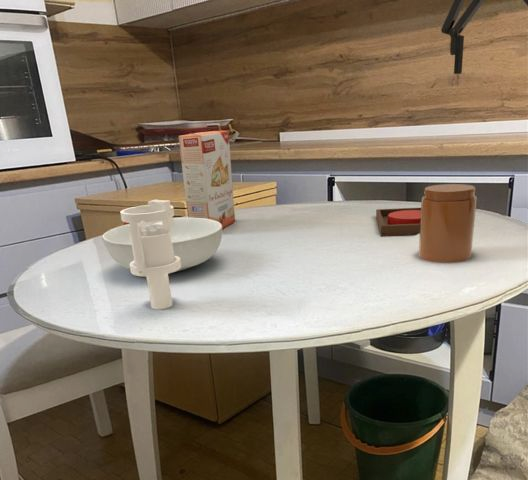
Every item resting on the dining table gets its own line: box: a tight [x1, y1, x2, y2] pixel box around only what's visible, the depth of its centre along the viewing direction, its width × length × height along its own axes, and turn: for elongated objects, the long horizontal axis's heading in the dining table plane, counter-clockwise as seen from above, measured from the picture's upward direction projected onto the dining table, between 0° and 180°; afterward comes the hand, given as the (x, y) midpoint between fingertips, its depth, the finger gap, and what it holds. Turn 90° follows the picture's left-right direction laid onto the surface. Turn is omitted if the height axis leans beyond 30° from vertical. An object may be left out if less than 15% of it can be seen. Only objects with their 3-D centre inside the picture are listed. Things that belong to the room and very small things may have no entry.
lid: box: [388, 210, 421, 225], centre depth 113 cm, size 10×10×2 cm
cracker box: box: [178, 130, 236, 229], centre depth 121 cm, size 14×6×21 cm, turn 160°
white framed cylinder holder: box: [119, 199, 181, 310], centre depth 74 cm, size 7×7×15 cm
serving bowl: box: [102, 216, 223, 273], centre depth 95 cm, size 21×21×7 cm
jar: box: [418, 183, 478, 264], centre depth 87 cm, size 8×8×12 cm
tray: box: [375, 207, 421, 237], centre depth 113 cm, size 18×14×2 cm
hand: (494, 70), depth 101 cm, fingers open, 13 cm apart
